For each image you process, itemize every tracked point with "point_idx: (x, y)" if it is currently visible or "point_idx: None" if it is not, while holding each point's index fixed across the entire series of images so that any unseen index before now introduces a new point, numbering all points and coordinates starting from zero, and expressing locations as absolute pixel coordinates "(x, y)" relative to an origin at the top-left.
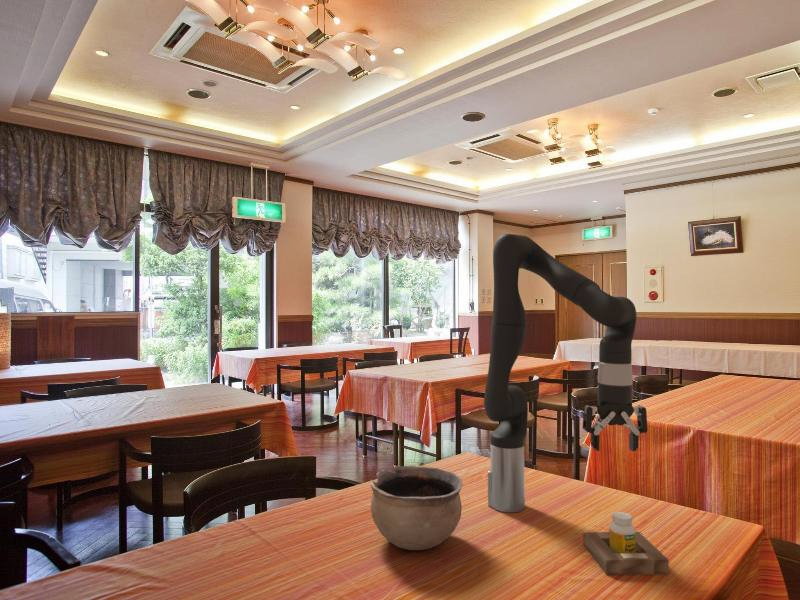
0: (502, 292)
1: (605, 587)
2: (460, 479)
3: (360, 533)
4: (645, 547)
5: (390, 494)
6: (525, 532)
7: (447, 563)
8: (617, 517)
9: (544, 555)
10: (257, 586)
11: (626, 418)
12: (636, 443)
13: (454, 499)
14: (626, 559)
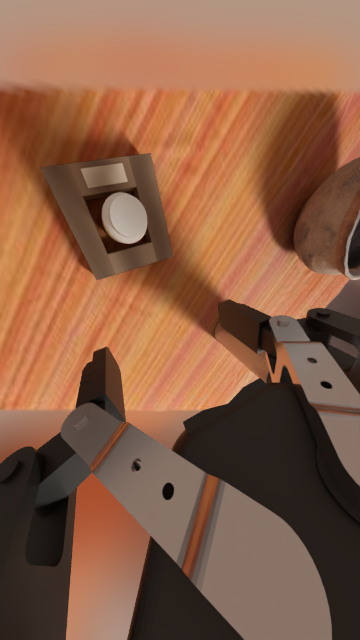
0: None
1: (148, 113)
2: (347, 243)
3: None
4: (85, 219)
5: None
6: (221, 273)
7: (297, 177)
8: (138, 203)
9: (211, 215)
10: None
11: (191, 506)
12: (90, 376)
13: (355, 194)
14: (118, 160)
